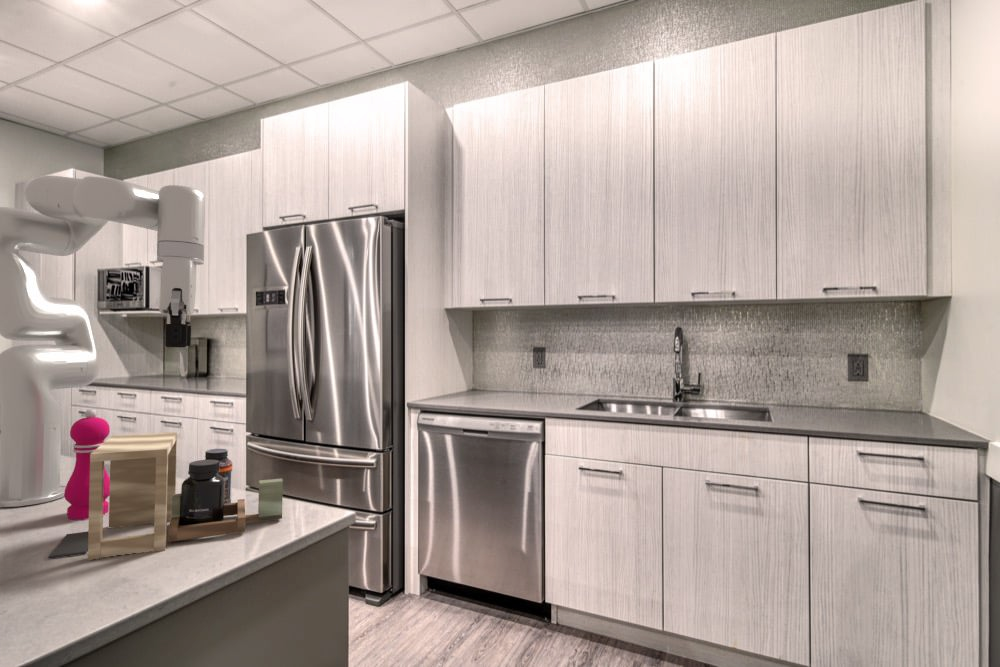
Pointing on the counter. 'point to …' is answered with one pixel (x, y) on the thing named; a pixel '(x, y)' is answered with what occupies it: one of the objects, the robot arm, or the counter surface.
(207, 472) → the supplement bottle
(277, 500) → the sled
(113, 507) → the tunnel
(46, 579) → the counter surface
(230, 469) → the supplement bottle
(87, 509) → the pepper mill
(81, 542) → the mat
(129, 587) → the counter surface
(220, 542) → the counter surface
